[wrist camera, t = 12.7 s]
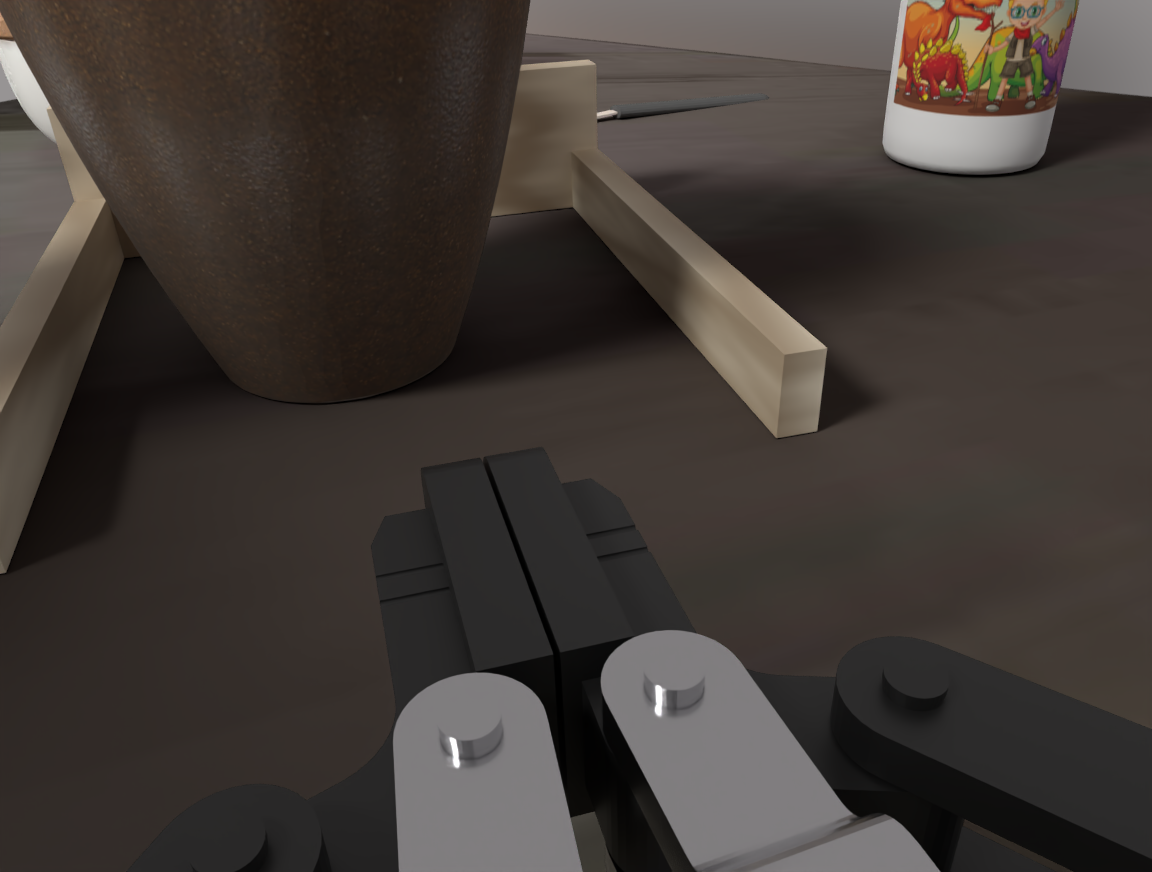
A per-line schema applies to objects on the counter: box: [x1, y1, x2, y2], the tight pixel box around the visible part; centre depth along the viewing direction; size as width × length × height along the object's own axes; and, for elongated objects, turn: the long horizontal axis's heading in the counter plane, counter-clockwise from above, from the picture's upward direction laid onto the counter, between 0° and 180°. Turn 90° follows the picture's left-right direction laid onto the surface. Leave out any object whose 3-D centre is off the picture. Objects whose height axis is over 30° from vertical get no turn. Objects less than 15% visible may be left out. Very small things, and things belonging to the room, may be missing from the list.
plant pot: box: [0, 0, 530, 404], centre depth 27 cm, size 15×15×16 cm
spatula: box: [597, 93, 769, 119], centre depth 56 cm, size 6×29×2 cm, turn 116°
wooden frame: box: [0, 60, 827, 574], centre depth 31 cm, size 21×22×6 cm
